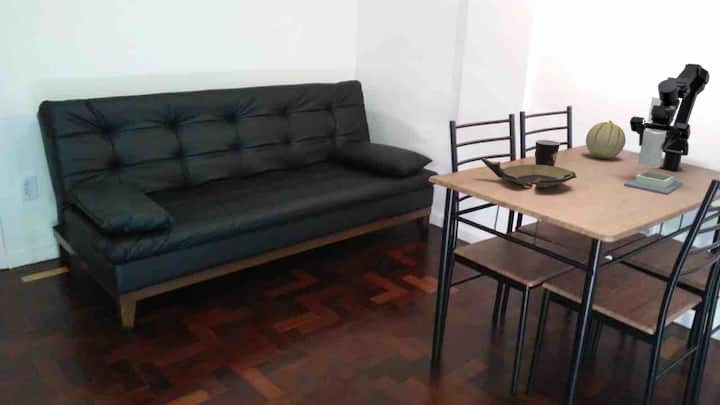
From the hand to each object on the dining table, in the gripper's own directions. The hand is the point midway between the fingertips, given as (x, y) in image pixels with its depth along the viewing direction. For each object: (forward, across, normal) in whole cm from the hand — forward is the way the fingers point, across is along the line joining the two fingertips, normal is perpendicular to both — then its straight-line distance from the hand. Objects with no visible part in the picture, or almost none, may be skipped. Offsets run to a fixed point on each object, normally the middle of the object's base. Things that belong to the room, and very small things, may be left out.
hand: (651, 147), depth 206 cm
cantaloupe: (-11, -25, +30) cm, 41 cm away
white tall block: (-21, -11, +41) cm, 47 cm away
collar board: (+8, +3, +10) cm, 13 cm away
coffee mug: (+15, -34, +4) cm, 38 cm away
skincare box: (+4, 0, +6) cm, 7 cm away
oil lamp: (+30, -29, -12) cm, 44 cm away
